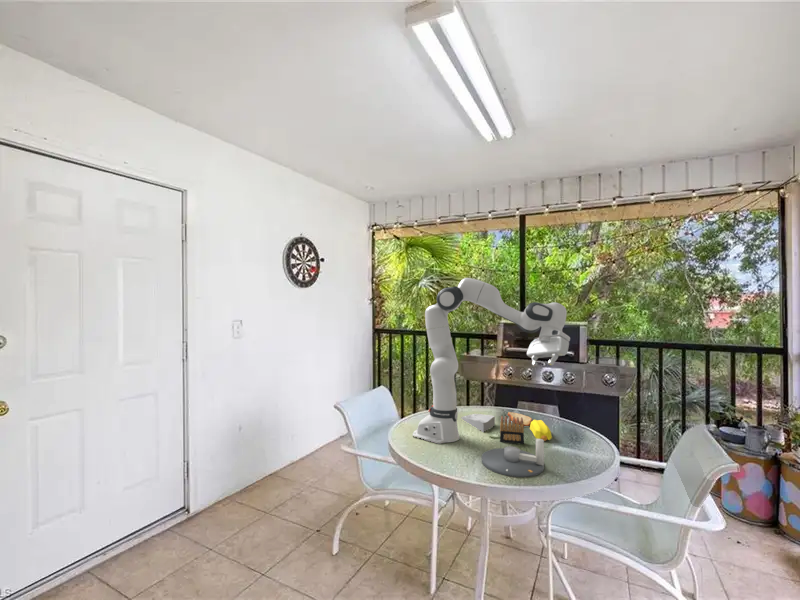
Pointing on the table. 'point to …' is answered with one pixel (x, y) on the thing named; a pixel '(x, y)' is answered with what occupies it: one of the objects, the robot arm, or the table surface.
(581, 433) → the table surface
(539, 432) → the yellow faceted oblong piece
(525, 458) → the dial lever
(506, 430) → the ammunition clip
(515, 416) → the bread slice
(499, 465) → the dial plate
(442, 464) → the table surface
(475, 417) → the ramp
